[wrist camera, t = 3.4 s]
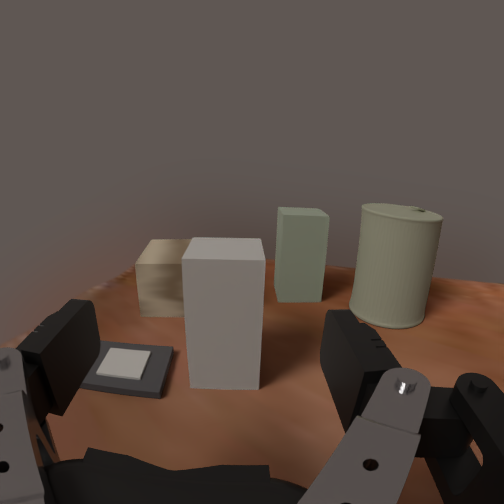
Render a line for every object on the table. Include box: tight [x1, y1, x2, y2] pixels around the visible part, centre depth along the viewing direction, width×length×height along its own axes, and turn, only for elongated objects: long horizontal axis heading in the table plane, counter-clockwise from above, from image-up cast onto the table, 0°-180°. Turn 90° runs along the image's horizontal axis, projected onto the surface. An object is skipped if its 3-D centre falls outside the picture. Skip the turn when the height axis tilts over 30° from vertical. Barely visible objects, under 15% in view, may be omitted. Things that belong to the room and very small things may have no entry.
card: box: [79, 341, 174, 399], centre depth 23 cm, size 7×6×1 cm
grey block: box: [182, 237, 266, 390], centre depth 23 cm, size 5×5×10 cm
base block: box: [135, 239, 192, 317], centre depth 36 cm, size 9×9×6 cm
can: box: [349, 203, 443, 329], centre depth 33 cm, size 9×9×12 cm
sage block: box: [274, 207, 330, 302], centre depth 38 cm, size 5×5×10 cm
